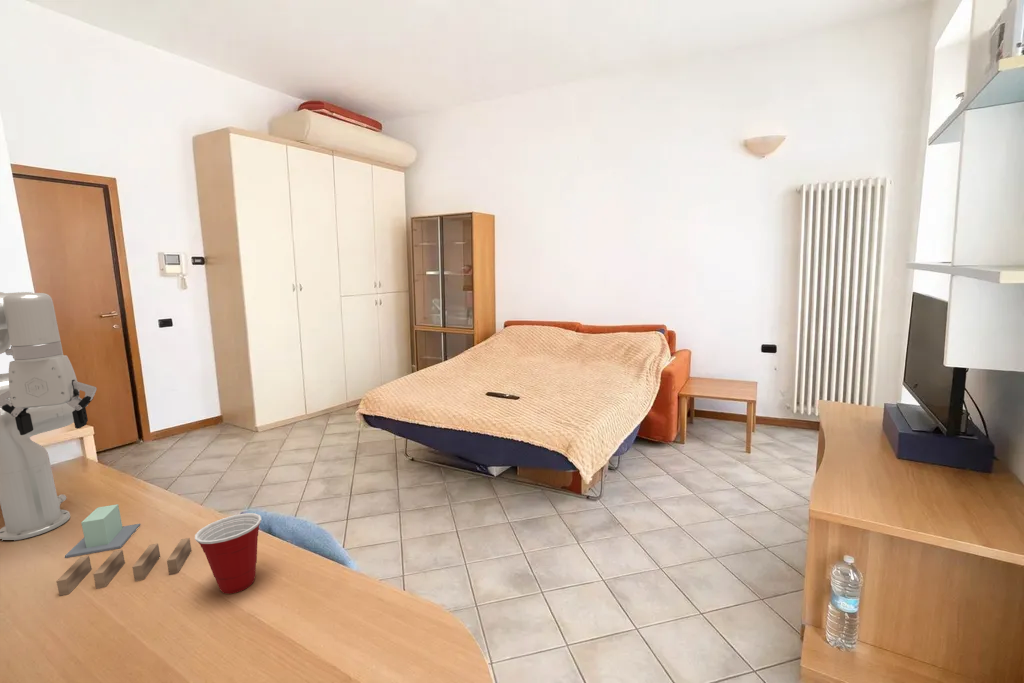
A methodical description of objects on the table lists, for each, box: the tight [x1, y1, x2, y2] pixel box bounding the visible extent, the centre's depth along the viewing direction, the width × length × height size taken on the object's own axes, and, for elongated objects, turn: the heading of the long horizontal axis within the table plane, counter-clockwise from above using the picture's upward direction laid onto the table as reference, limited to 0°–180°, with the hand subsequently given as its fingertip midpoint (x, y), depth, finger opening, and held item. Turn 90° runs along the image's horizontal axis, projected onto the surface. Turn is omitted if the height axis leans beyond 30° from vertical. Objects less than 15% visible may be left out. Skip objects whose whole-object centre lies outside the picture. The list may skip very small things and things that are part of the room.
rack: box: [56, 537, 193, 597], centre depth 98 cm, size 8×19×3 cm, turn 106°
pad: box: [64, 523, 141, 559], centre depth 110 cm, size 10×10×1 cm
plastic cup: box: [194, 512, 262, 595], centre depth 91 cm, size 11×11×12 cm
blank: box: [81, 504, 123, 548], centre depth 110 cm, size 7×4×6 cm, turn 17°
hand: (54, 429), depth 106 cm, fingers open, 9 cm apart
